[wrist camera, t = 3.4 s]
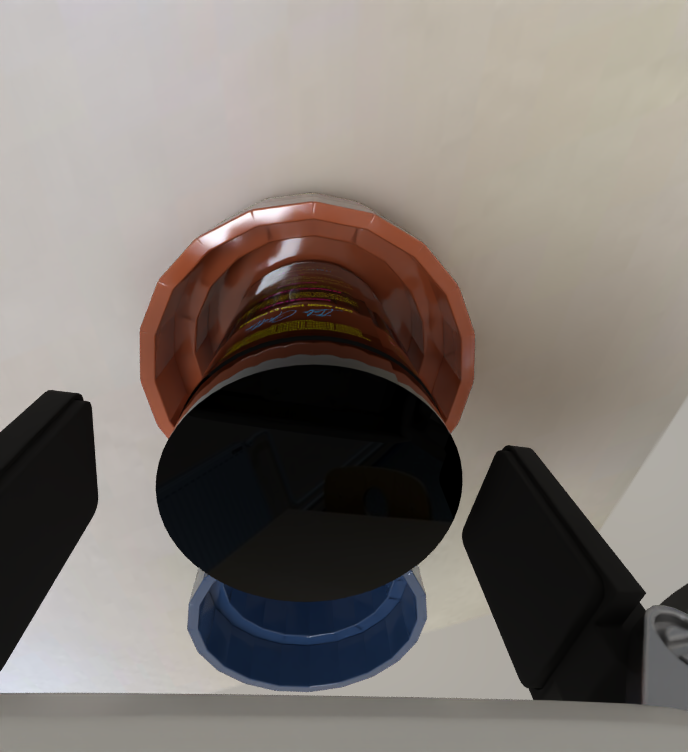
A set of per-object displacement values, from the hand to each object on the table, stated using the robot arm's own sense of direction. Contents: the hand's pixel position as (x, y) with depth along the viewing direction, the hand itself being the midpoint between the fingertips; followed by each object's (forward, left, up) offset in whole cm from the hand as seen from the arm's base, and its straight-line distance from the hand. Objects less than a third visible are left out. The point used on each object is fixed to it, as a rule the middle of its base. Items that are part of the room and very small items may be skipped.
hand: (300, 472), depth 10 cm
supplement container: (0, 0, -10) cm, 10 cm away
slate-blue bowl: (-2, +13, -10) cm, 17 cm away
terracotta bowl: (0, 0, -10) cm, 10 cm away
